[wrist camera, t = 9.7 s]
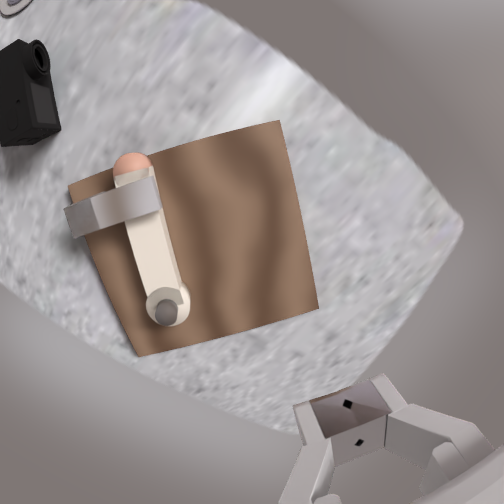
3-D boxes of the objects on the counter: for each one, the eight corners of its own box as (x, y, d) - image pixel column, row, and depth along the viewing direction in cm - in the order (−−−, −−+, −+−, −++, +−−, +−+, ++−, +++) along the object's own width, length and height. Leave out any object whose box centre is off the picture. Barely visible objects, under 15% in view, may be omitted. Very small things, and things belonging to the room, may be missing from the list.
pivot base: (140, 350, 38) (132, 381, 32) (73, 184, 30) (48, 192, 25) (315, 302, 39) (332, 328, 33) (276, 121, 32) (291, 115, 26)
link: (195, 310, 35) (194, 321, 33) (156, 317, 35) (153, 329, 32) (154, 147, 29) (150, 147, 27) (111, 159, 29) (104, 160, 26)
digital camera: (71, 126, 28) (42, 123, 22) (33, 145, 28) (0, 147, 22) (56, 48, 25) (28, 31, 18) (19, 69, 25) (-13, 58, 18)
